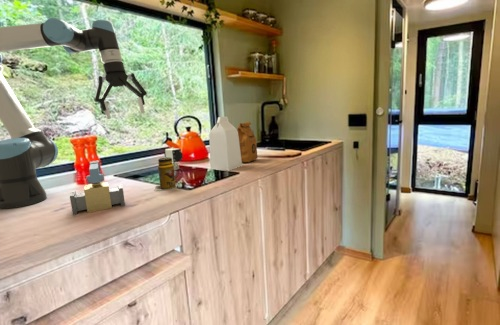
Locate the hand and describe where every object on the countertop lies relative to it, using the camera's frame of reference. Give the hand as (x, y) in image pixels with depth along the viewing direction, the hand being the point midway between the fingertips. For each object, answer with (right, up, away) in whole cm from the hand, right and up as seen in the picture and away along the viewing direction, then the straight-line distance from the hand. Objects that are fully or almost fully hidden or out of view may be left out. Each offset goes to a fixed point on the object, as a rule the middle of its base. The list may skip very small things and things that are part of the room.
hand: (126, 116), depth 121 cm
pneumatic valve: (+11, -23, +35) cm, 43 cm away
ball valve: (+1, -34, -23) cm, 41 cm away
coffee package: (+49, -19, +46) cm, 70 cm away
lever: (-3, -25, -19) cm, 31 cm away
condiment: (+17, -30, -2) cm, 34 cm away
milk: (+38, -22, +32) cm, 54 cm away
